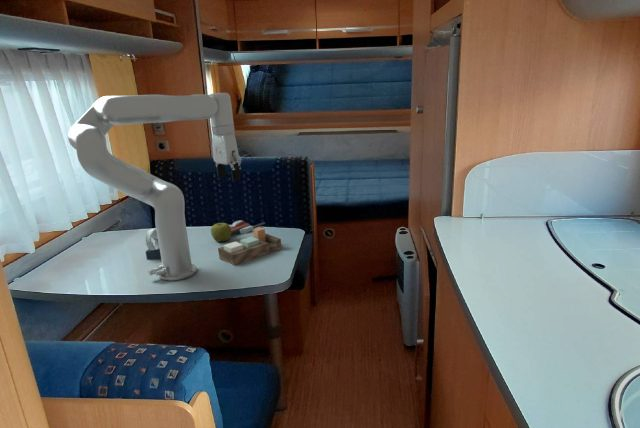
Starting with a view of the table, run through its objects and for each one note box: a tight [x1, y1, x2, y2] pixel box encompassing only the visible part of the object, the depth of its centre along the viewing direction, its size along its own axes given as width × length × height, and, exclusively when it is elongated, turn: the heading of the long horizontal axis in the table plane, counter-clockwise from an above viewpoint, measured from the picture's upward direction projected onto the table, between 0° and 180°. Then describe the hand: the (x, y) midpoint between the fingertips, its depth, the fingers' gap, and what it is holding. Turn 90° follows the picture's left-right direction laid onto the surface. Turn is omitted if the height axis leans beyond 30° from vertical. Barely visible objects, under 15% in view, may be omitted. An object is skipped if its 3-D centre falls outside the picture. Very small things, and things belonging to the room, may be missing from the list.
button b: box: [239, 236, 259, 247], centre depth 174 cm, size 5×5×3 cm
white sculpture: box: [145, 228, 161, 260], centre depth 176 cm, size 6×8×11 cm
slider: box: [252, 226, 266, 242], centre depth 180 cm, size 3×3×5 cm
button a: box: [223, 241, 243, 253], centre depth 169 cm, size 5×5×3 cm
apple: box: [210, 222, 231, 242], centre depth 189 cm, size 8×8×7 cm
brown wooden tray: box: [217, 232, 283, 266], centre depth 174 cm, size 21×10×4 cm, turn 131°
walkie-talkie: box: [228, 219, 266, 238], centre depth 201 cm, size 9×4×20 cm
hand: (229, 179), depth 166 cm, fingers open, 9 cm apart
